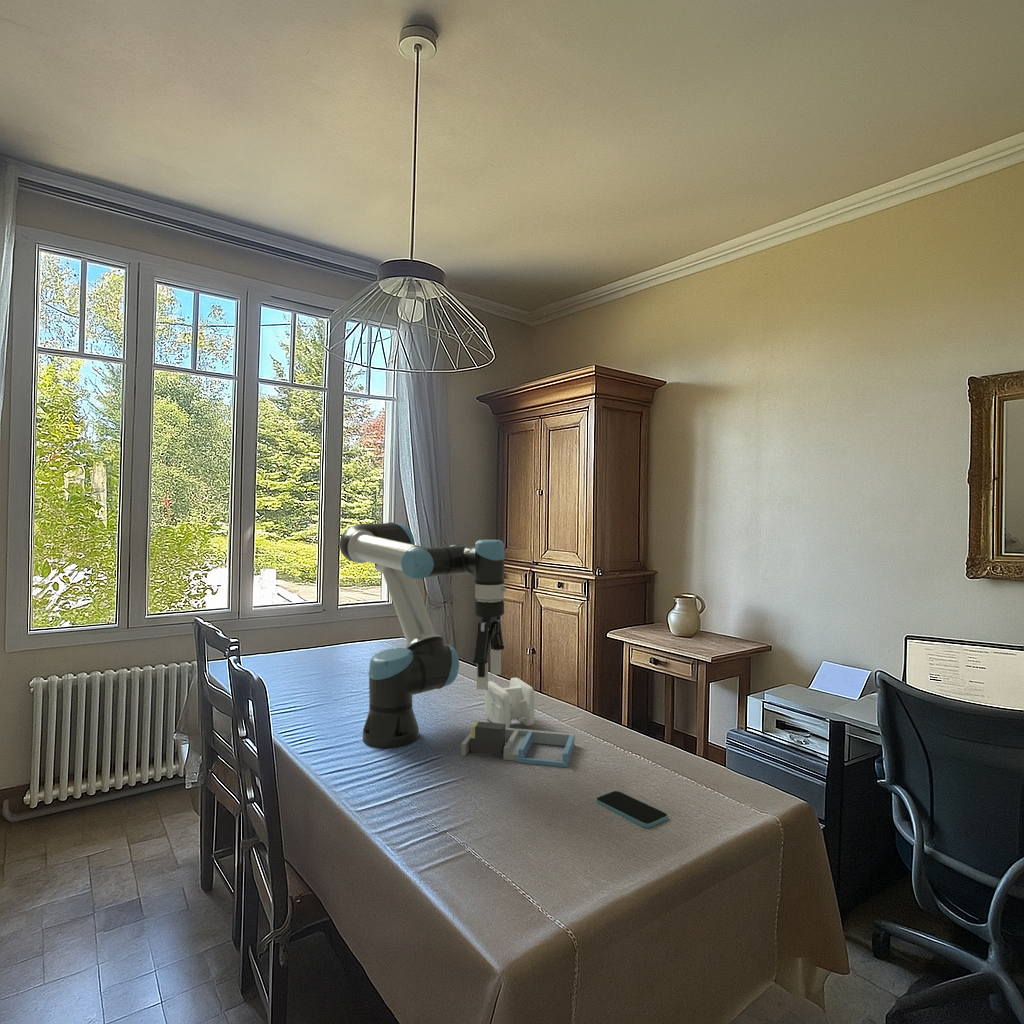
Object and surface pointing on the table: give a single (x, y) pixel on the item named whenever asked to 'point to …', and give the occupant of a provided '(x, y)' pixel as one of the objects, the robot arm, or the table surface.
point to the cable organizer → (510, 703)
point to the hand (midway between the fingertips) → (489, 681)
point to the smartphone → (632, 809)
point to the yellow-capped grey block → (488, 738)
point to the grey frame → (522, 742)
